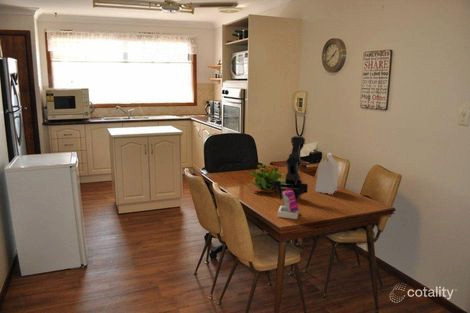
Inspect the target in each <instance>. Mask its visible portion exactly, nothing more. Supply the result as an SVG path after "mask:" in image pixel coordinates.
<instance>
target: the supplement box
mask: <svg viewBox="0 0 470 313" xmlns="http://www.w3.org/2000/svg"><path fill="white" fill-rule="evenodd" d="M281 197H282V199H283V202H284V206H286V210H287V211H288V212H295V211H298V210H299V211H300V208H299V204H298V203H297V202H298V200H297V201H296V198H295V195H294V191H293V190H292V189H289V188H287V189H286V190H283V191H282V190H281Z"/></svg>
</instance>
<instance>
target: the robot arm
mask: <svg viewBox="0 0 470 313" xmlns="http://www.w3.org/2000/svg"><path fill="white" fill-rule="evenodd" d="M290 143H291V146H292V149H291V153H290V154H288V158H287V159H286V167H287V172H286V174H285V179H286V180H285V184H283V183H281V181H276V180H275V181H274V182H273V188H274V189H275V190H276V192H278V195H279V199H280V200H282V193H281V192H282V189H281V187H283V188H286V189H292V190H293V191H294V195H295V198H296V201H297V202H298V200H299V199H300V198H301V197H302V195H304V194H307V193H308V189H309V186H308V184H307V183H304V182H303V181H302V180H301V175H300V166H301V165H302V163H303V162H302V161H303V160H302V159H301V151H302V150H303V148H304V147H305V146H304V145H305V143H306V138H305V137H304V136H300V135H299V136H298V135H297V136H295V135H294V136H293V137H290Z"/></svg>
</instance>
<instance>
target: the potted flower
mask: <svg viewBox="0 0 470 313" xmlns="http://www.w3.org/2000/svg"><path fill="white" fill-rule="evenodd" d="M257 169H258V171H259V172H255V171H254V172H251V171H250V172H249V175H250V176H252V177H254V181H255V182H254V181H252V180H251V181H250V183H251V184H253V186H255V187H256V188H259V189H260V191H261V192H263V193H273V192H275V189H274V188H273V182H274V181H275V180H276V181H281V183H282V184H286V183H285V180H286V178H282V176H284V175H285V174H284V173H277V172H278V170H279V167H278V166H277V165H272V164H271V165H267V166H266V164H265V163H263V164H262V165H260V164H258V165H257ZM283 188H284V187H281V190H283Z"/></svg>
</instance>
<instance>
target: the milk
mask: <svg viewBox="0 0 470 313" xmlns="http://www.w3.org/2000/svg"><path fill="white" fill-rule="evenodd" d="M317 168H318V169H317V175H316V182H315V190H314V191H315V193H320V192H321V194H325V193H328V194H327V195H331V194H332V195H333V193H334V192H335V191H336V190H337V191H338V179H339V163H338V162H337V160H336V159H335V158H334V157H333V154H332V152H329V153H327V154H326V159H325V158H324V160H323V161H322V162H320V163H319V164H318V167H317ZM337 191H336V192H337ZM336 192H335V193H336ZM335 193H334V194H335Z"/></svg>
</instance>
